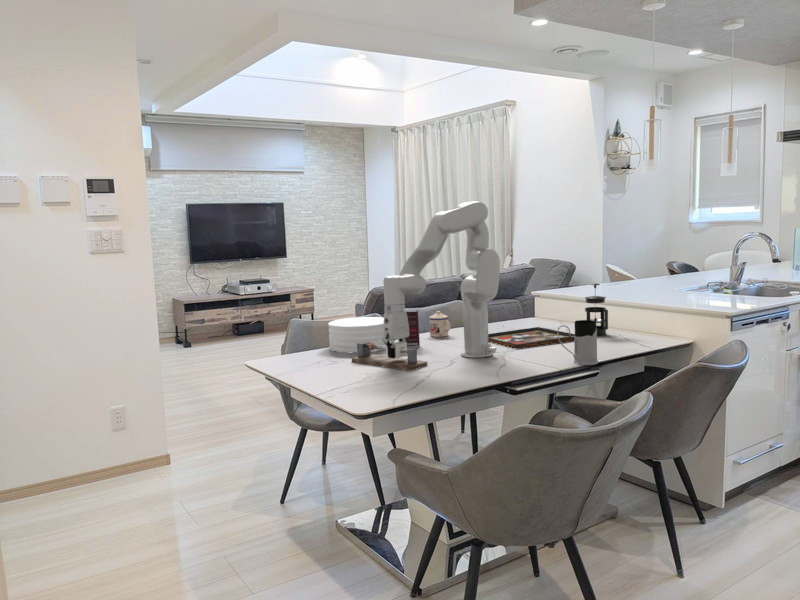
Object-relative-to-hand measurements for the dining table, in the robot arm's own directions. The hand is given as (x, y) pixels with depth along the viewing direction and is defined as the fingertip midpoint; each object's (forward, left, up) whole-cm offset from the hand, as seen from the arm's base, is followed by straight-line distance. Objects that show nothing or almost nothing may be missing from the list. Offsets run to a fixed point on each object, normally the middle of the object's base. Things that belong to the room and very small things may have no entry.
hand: (396, 356), depth 238 cm
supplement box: (+19, -30, -4) cm, 36 cm away
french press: (-37, -94, -4) cm, 101 cm away
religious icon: (-16, -70, -4) cm, 72 cm away
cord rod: (+5, 0, -2) cm, 5 cm away
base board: (+4, 0, -3) cm, 6 cm away
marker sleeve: (0, 0, 0) cm, 0 cm away
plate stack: (+39, -20, -4) cm, 45 cm away
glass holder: (-55, -37, -4) cm, 66 cm away
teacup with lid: (+24, -59, -4) cm, 64 cm away
